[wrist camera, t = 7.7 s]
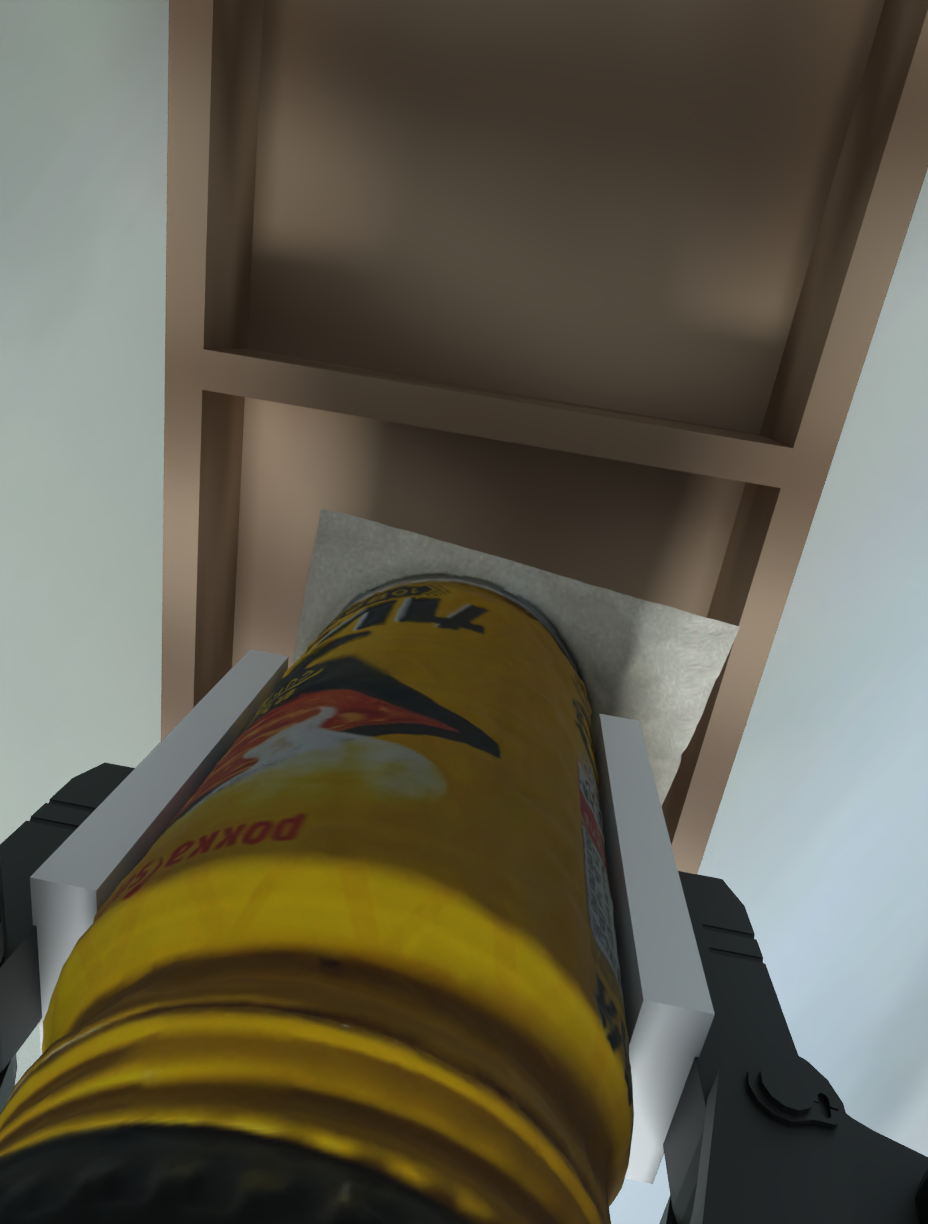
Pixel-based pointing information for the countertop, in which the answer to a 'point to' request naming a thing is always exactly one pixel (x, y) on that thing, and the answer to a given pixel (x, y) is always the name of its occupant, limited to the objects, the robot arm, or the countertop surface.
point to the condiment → (374, 922)
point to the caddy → (524, 301)
